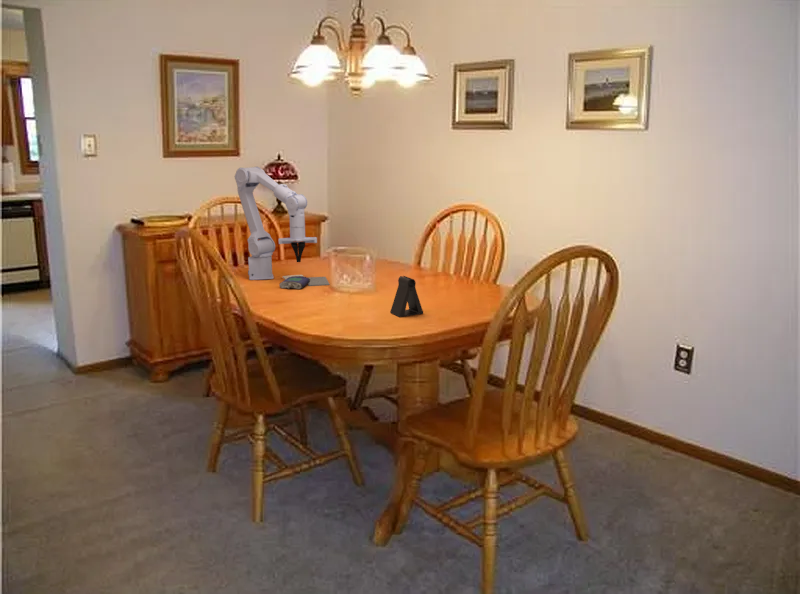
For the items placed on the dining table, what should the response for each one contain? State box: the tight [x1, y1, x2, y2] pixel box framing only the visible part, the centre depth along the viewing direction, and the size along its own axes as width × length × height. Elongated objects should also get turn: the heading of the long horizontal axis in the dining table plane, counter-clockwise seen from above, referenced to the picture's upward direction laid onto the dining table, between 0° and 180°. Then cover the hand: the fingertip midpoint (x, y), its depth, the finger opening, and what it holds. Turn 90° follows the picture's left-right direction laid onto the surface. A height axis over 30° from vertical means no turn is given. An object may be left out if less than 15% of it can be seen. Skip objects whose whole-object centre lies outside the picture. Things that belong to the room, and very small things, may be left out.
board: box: [306, 276, 331, 287], centre depth 269 cm, size 8×14×1 cm, turn 13°
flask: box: [279, 275, 310, 290], centre depth 260 cm, size 9×3×11 cm
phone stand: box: [390, 275, 424, 318], centre depth 222 cm, size 9×6×12 cm, turn 120°
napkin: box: [282, 274, 304, 280], centre depth 276 cm, size 8×6×1 cm
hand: (298, 261), depth 265 cm, fingers closed
